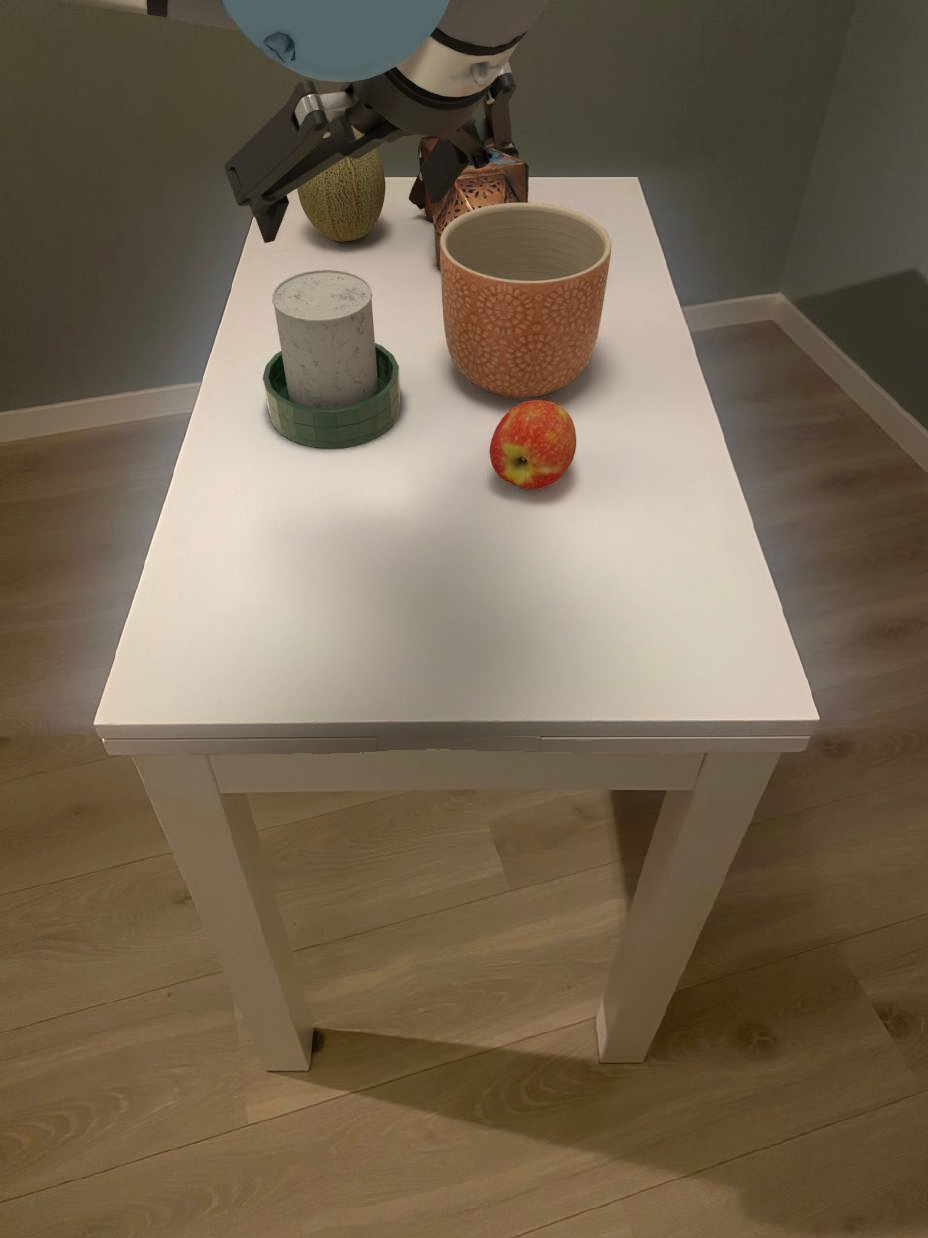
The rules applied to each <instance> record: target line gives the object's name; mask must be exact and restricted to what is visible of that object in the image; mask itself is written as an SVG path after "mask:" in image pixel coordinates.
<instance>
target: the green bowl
mask: <svg viewBox="0 0 928 1238" xmlns="http://www.w3.org/2000/svg"><path fill="white" fill-rule="evenodd" d="M375 351H376V364H377V377H378V390H379V393H378V394H377V395H375V396H374V397H373V398H370V399H368V400H365V401H363V402H360V403H358V404H355V405H350V406H345V407H339V408H311V407H307V406H302V405H297V404H294V403H292V402H290V401H289V395H288V389H287V383H286V377H285V370H284V364H283V358H282V352H281V350H280V351H278V352H277V353H275V354H274V355H273V356H272V358H271V359H270V360H269V361H268V362H267V364H266V365H265V367H264V371H263V374H262V382H263V388H264V393H265V398H266V399H265V400H266V404H267V409H268V413H269V418H270V422H271V423H272V425H273V427H274V429H276V431H277V432H278V433H279V434H281V436H282V437H284V438H286V439H287V440H290V441H291V442H294V443H296V444H299V445H302V446H306V447H311V448H317V449H342V448H343V449H344V448H349V447H353V446H358V445H361V444H364V443H367V442H370V441H372V440H374V439H376V438H379V437H380V436H381V435H383V434H384V433H386V432H387V431H388V430H389V429H390V428H391V427H392V426H393V425H394V424H395V423H396V421H397V420H398V418H399V415H400V412H401V382H400V381H401V380H400V367H399V364H398V362H397V359H396V358H395V356H394V355H393V353H392V352H390V351H389V350H388V349H387V348H385V346H383V345H381V344H379V343H376V342H375Z"/></svg>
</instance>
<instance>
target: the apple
mask: <svg viewBox="0 0 928 1238" xmlns="http://www.w3.org/2000/svg"><path fill="white" fill-rule="evenodd" d="M576 451H577V433H576V427H575V424H574V421H573V418H572V416H571V415H570V414H569V412H568V411H566V410H565V409H564V408H563V407H562V406H560V405H559V404H557V403H555V402H553V401H549V400H544V399H533V400H527V401H523V402H521V403H519V404H517V405H515V406H514V407H512V408H511V409H510V410H509V411H507V412H506V413H505V414H504V415H503V416H502V418H501V419H500V421H499V422H498V424H497V425H496V427H495V430H494V432H493V434H492V437H491V441H490V446H489V458H490V459H489V460H490V463H491V466H492V467H493V470H494V472H495V473H496V474H497V476H498V477H499V478H500V479H502V480H503V481H504V482H505V483H508V484H511V485H512V486H515V487H517V488H520V489H524V490H540V489H544V488H547V487H549V486H552V485H553V484H555V483H556V482H558V481H559V480H560V479H561V478H562V477H563V476H564V475H565V473H566V472H567V471H568V470H569V468H570V467H571V464H572V463H573V460H574V457H575V454H576Z"/></svg>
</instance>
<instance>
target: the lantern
mask: <svg viewBox="0 0 928 1238" xmlns="http://www.w3.org/2000/svg"><path fill="white" fill-rule="evenodd" d="M438 140H439V138H438V137H437V136H422V137H421V138H420V139H419V140H418V141H419V144H418V149H417V152H418V153H417V154H418V155H417V156H418V164H419V169H420V168H421V166H422V165H423V163H424V161H425V160H426V158H427V157H428V155H429V154H430V152H431V150H432V149H433V147H434V146H435V144H436V143H437V141H438ZM485 148H486V151H487V154H488V157H489V160H490V163H489V164H488V165H486V166H485V167H482V168H479V169H475V168H474V165H473V162H471V163H470V164H469V166H468V167H467V168H466V169H464V170H463V171H462V173H461V174H460V175H459V177H458V178H457V179H456V181H455V182H454V184H453V185H452V186H451V188H450V189H449V190H448V192H447V193H446V194H445V196H444V197H443V198H442V200H441V201H440V202H438V203H433V204H431V202H430V199H429V196H428V193H427V190H426V187H425V184H424V181H423V178H422V176H421V173H420V171H419V172H418V174H417V176H416V178H415V180H414V183H413V185H412V187H411V190H410V193H409V194H408V200H409V202H410V203H412V205H415V206H416V207H417V208H418V209H419V210H420V211H421V212H422V214H423V215H424V216H425V219H426V220H428V221H433V230H434V231H433V232H434V248H435V267H437V268H438V269H440V270H441V265H440V238H441V235H442V232H443V231H444V229H445V228H446V226H447V225H448V224H449V223H450V222H452V221H453V220H454V219H456V218H457V217H459V216H461V215H463V214H465V213H467V212H470V211H472V210H475V209H478V208H482V207H486V206H491V205H497V204H505V203H529V191H530V190H529V189H530V188H529V186H530V185H529V178H530V177H529V176H530V172H529V171H530V167H529V164H528V163H527V162H525V161H523V160H521V159H520V153H519V151H518V149H517V148H516V144H515V143H514V142H513V141H512V143H511V144H510V145H509V146H508V147H506V148H501V149H497V148H496V146H495V143H494V144H491V145H489V146H486V147H485Z"/></svg>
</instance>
